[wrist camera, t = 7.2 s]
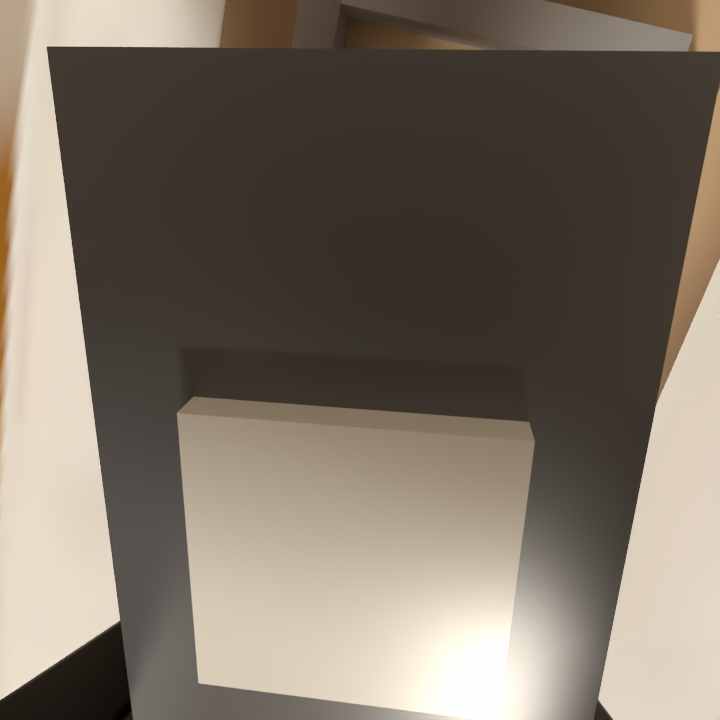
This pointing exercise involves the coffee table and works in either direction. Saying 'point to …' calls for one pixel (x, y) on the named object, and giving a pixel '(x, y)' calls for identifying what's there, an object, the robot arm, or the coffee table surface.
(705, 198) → the tray
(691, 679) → the coffee table surface
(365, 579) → the power strip
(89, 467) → the coffee table surface
